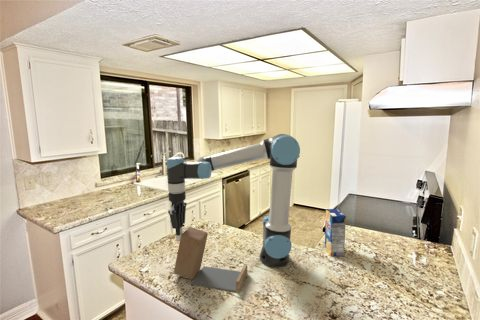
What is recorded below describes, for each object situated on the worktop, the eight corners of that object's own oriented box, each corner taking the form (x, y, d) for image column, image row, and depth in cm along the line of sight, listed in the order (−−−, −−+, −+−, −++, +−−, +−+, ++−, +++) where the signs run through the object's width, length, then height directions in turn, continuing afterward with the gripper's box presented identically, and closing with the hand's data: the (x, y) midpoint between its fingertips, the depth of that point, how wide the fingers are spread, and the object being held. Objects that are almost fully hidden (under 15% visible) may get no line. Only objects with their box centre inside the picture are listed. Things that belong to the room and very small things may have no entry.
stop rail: (247, 273, 123) (247, 263, 122) (239, 292, 110) (238, 281, 109) (244, 273, 123) (244, 263, 122) (236, 292, 110) (236, 281, 109)
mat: (245, 273, 123) (245, 272, 123) (236, 292, 110) (236, 290, 110) (203, 267, 129) (203, 266, 129) (190, 284, 116) (190, 283, 116)
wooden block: (193, 281, 118) (201, 241, 114) (172, 274, 120) (180, 234, 116) (200, 268, 128) (208, 231, 124) (181, 262, 129) (189, 225, 125)
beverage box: (330, 256, 137) (332, 216, 134) (324, 246, 148) (325, 209, 145) (344, 256, 137) (345, 216, 133) (336, 246, 148) (338, 208, 144)
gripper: (176, 187, 126) (179, 234, 129) (161, 195, 113) (164, 246, 117) (190, 188, 124) (193, 235, 127) (177, 196, 111) (180, 248, 115)
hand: (179, 240), depth 122 cm, fingers closed
